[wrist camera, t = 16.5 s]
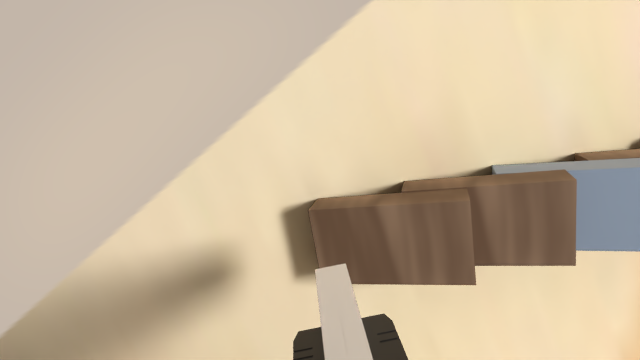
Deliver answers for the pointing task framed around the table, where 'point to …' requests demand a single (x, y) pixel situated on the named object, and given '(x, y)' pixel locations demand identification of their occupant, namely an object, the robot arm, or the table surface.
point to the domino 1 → (397, 237)
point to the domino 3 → (599, 200)
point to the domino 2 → (517, 216)
